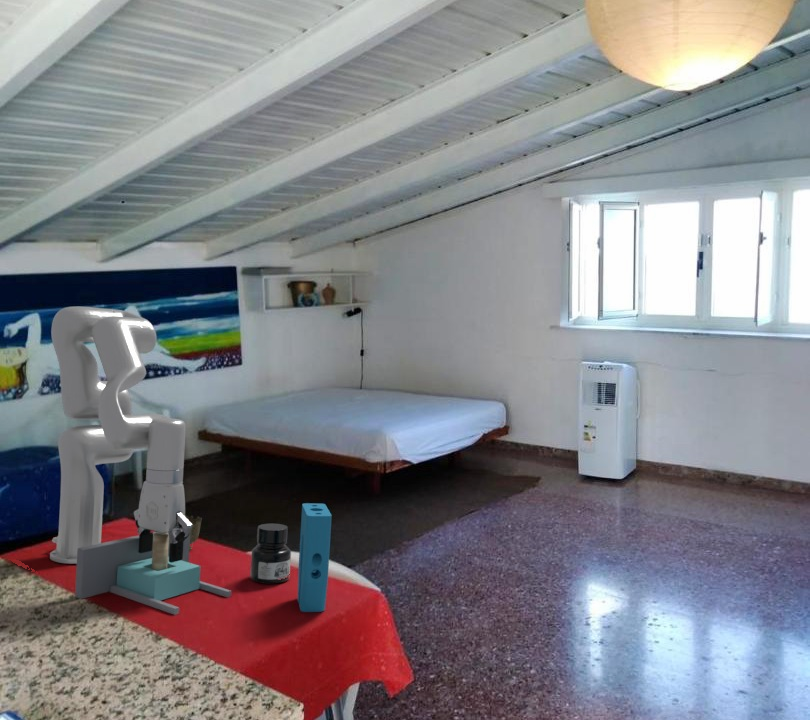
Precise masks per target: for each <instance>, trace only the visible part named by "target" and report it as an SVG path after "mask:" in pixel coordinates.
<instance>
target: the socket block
mask: <svg viewBox="0 0 810 720" xmlns="http://www.w3.org/2000/svg"><path fill="white" fill-rule="evenodd" d="M201 568H202V567H201V565H199V564H195V563H192V562H189V563H188V562H185V561H182V560H180V561H176V562H172V563H171V562H169V557H168V564H167V569H164V570H160V571H156V570H153V569H152V558H150V559H146V560H141V561H137V562H133V563H129V564H125V565H121V566H118V568H117V586H118V587H121V588H124V589H127V590H130V591H133V592H136V593H139V594H142V595H144V596H147V597H150V598H153V599H156V600H159V601H163V600H167V599H170V598H173V597H177V596H180V595H183V594H186V593H190V592H193V591H196V590H199V585H200V581H201Z"/></svg>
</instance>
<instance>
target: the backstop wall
mask: <svg viewBox="0 0 810 720" xmlns="http://www.w3.org/2000/svg"><path fill="white" fill-rule="evenodd" d="M152 532H153V534H154V533H158V532H155V531H152ZM190 532H191V531H190ZM139 535H140V534H138V535H134V536H129V537H124V538H120V539H115V540H110V541H105V542H101V543H100V544H95V545H90V546H85V547H81V548H78V550H77V564H76V570H75V573H76V574H75V591H74V597H75V598H77V599H80V600H83V599H86V598H90V597H94V596H97V595H102V594H105V593H108V592H109V593H112V594H115V595H118V596H120V597H124V598H126V599H129V600H132V601H134V602H137V603H140V604H142V605H146V606H149V607H151V608H154V609H157V610H160V611H163V612H166V613H168V614H172V615H179V613H180V607H179V606H176V605H173V604H172V603H171V604H170V603H167V602H165V601H163V600H160V601H159V600H156V599H153V598H150V597H147V596H144V595H142V594H139V593H136V592H133V591H130V590H127V589H124V588H121V587H118V586H117V568H118V566H121V565H125V564H129V563H133V562H137V561H141V560H146V559H150V558H152V552H153V545H152V551H149V552H145V553H139V552H138V550H139ZM175 535H176V536H177V535H178V534H177V532H175ZM170 543H172V541H171V538H170V536H169V546H168V557H169V548H170ZM190 551H191V549H190V533H189V536H188V537H187V538H186V541H185V542H184V543H183V559H182V561H185V562H188V563H190ZM199 589H200V590H203V591H206V592H209V593H213V594H216V595H219V596H223V597H225V598H230V597H231V596H232V590H231V589H230V590H229V589H227V588H224V587H221V586H218V585H214V584H211V583H208V582H204V581H201V580H200V585H199ZM199 589H198V590H199Z"/></svg>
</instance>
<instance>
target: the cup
mask: <svg viewBox="0 0 810 720" xmlns="http://www.w3.org/2000/svg"><path fill="white" fill-rule="evenodd" d="M185 517H186V518H187V519H188V520H189V521H190V522H191V523H192V528H191V532H190V544H192V546H191V547H190V550H192V549H193V544H194V543H196V541H197V540H198V538H199V534H200V530H201V525H202V519H203V518H202V517H200V516H196V518H194V516H193V515H190V516H189V515H187V514H185Z"/></svg>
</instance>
